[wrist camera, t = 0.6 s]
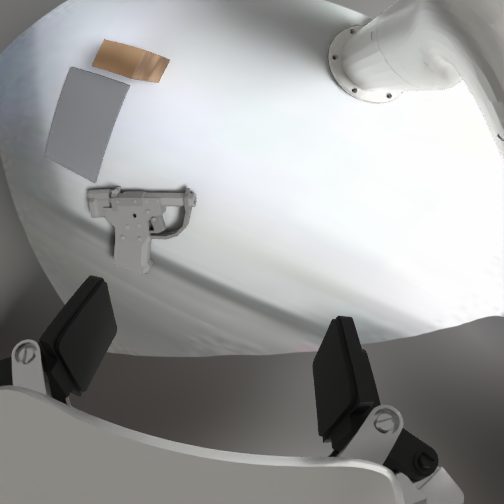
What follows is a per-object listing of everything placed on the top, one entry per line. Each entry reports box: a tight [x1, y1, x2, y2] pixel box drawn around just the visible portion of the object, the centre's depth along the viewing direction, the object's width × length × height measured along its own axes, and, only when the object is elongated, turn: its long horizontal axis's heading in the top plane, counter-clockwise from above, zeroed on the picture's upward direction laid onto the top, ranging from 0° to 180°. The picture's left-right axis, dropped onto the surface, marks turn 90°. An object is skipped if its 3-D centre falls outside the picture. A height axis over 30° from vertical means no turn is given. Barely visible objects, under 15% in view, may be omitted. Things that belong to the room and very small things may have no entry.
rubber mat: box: [45, 67, 130, 183], centre depth 36 cm, size 18×14×1 cm
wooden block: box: [92, 39, 170, 83], centre depth 28 cm, size 4×7×9 cm, turn 61°
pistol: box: [88, 186, 196, 274], centre depth 45 cm, size 20×3×16 cm
